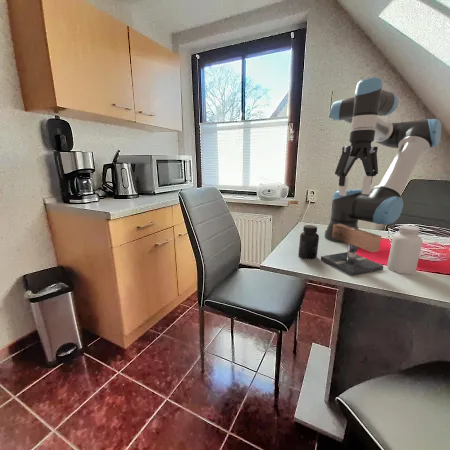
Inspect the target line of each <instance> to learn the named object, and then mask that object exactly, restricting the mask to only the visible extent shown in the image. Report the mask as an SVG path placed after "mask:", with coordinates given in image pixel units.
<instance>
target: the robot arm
mask: <svg viewBox="0 0 450 450" xmlns="http://www.w3.org/2000/svg"><path fill="white" fill-rule="evenodd" d="M398 105H399V98H398V95H397V94H395V93H393V92H392V91H388V90H385V89H383V79H382V78H381V77H368V78H365V79H364V78H363V79H361V80H359V81H358V83H357V84H356V87H355V91H354V97H349V98H342V99H339V100H336V101H334V102H333V103H332V105H331V106H330V117H331V119H332V120H333V121H339V122H340V121H344V122H347V123H348V124H350V129H351V130H352V131H350V132H349V133H350V134H349V140H348V141H349V143H350V145H344V146H342V149H341V155H340V157H339V160H338V164H337V167H336V169H335V171H334V174H335V175H336V176H337V177H339V178H338V186H339V187H338V190H336V191H334V192H333V197H332V200H331V211H330V220H329V223H328V224H327V227H326V230H325V232H324V238H325V239H327V240H329V241H331V242H336V243H343V244H347V243H346V242H344V241H341V240H338V239H336V238H333V237H332V231H333V224H339V223H340V224H343V225H346V226H350V227H353V228H356V229H359V225H358V224H359V223H358V222H359V221H364V222H368V223H373V224H377V225H383V226H384V225H385V226H386V225H387V226H388V225H392V224H394V223H395V222H396V221H397V220H398V219H399V218H400V216H401V214H402V212H403V211H402V210H403V208H404V201H403V198H402V194H401V192H402V190H403V189H404V187H405V185H406V183H407V182H408V179H409V178H410V177H411V175H412V172H413V171H414V170H415V167H416V166H417V163H418V162H419V160H420V158H421V156H423V155H425V154H427V153H428V152H429V150H430V149H431V148H433V149H434V148H437V147H438V146H439V145H440V143H441V138H442V137H441V136H442V122H441V121H440V119H437V118H431V119H430V118H427V119H421V120H412V121H411V120H409V121H403V122H402V121H401V122H391V121H388V120H384V119H382V118H380V117H382V116H384V117H387V116H389V115H390V114H392V113H393V112H394V111H396V109H397V108H398ZM379 116H380V117H379ZM373 142H376V143H377V144H380V145H381V146H383V147H387V148H391V149H398V151H397V153H396V155H395V156H394V158H393V160H392V161H391V163H390V165H389V167H388V168H387V170H386V172H385V173H384V175H383V177H382V179H381V180H380V182H379V184H378V185H376V186H374V187H372V186H371V185H372V182H373V177H376V176H377V175H378V174H379V168H378V167H379V166H378V165H379V164H378V149H379V148H378V146H372V143H373ZM358 159H360V161H361V162H362V167H363V169H364V173H365V175H364V176H363V180H362V181H363V182H362V189H348V182H349V176H348V174H349V172H350V170H351V169H352V167H353V166H354V164H355V162H356V161H358ZM371 187H372V188H371Z"/></svg>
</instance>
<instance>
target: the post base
mask: <svg viewBox="0 0 450 450" xmlns="http://www.w3.org/2000/svg"><path fill="white" fill-rule="evenodd" d="M320 261H321V262H323V263H326V264H327V265H329V266H331V267H333V268H335V269H336V270H339V271H341V273H345V274H347V275H348V276H350V277H354V276H359V275H364V274H369V273H373V272H378V271H379V272H380V271H383V270H384V265H383V264H380V263H378V262H375V261H373V260H370V259H368V258H367V257H364V256H361V255H359V254H357V252H351V251H348V250H347V252H341V253H340V252H338V253H334V254H328V255H326V254H325V255H321V256H320Z"/></svg>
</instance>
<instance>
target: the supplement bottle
mask: <svg viewBox="0 0 450 450" xmlns="http://www.w3.org/2000/svg"><path fill="white" fill-rule="evenodd" d="M302 231H303V232H301V233H300V235H299V246H298V256H299V258H302V259H304V260H315V259H317V257H318V251H319V250H318V249H319V239H320V235H319V234H318V233H317V232H318V226H316V225H312V224H306V225H305V224H304V225H303V229H302Z"/></svg>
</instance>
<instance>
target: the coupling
mask: <svg viewBox="0 0 450 450" xmlns="http://www.w3.org/2000/svg"><path fill="white" fill-rule="evenodd" d="M332 237H333V238H336V239H338V240H341V241H344V242H346V243H345V244H348V245H347V252H348V251H351V252H356V253H357V252H358V248H360V249H363V250H364V251H367V252H370V253H377V252H379V251H380V247H381V241H382V235H379V234H375V233H372V232H369V231H366V230H362V229H360V228H358V229H356V228H353V227H350V226H346V225H343V224H340V223H339V224H333V231H332Z"/></svg>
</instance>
